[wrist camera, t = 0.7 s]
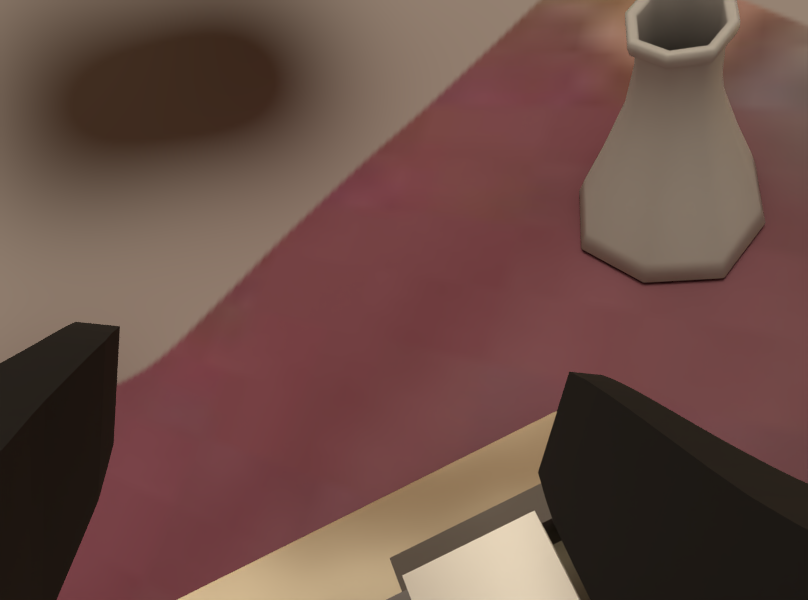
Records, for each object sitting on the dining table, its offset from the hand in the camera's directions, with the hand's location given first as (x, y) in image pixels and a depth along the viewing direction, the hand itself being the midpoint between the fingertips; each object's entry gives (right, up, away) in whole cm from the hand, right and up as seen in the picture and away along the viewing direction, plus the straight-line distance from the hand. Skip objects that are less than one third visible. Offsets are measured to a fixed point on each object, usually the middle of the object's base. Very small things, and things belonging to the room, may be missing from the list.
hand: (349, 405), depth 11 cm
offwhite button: (+4, -7, +8) cm, 11 cm away
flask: (+12, +5, +18) cm, 22 cm away
